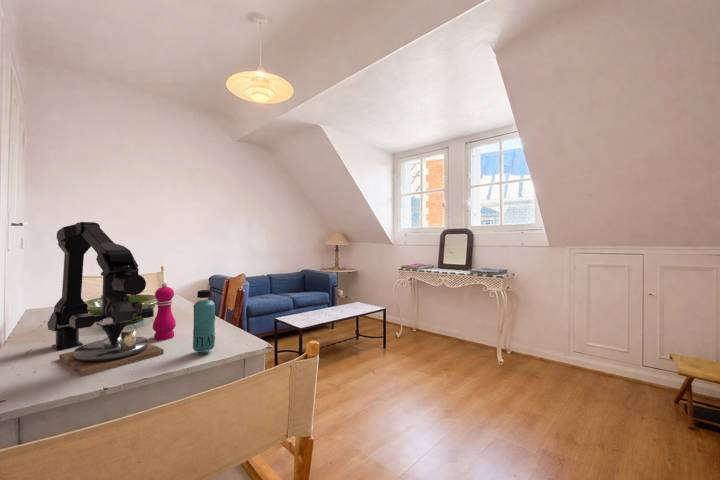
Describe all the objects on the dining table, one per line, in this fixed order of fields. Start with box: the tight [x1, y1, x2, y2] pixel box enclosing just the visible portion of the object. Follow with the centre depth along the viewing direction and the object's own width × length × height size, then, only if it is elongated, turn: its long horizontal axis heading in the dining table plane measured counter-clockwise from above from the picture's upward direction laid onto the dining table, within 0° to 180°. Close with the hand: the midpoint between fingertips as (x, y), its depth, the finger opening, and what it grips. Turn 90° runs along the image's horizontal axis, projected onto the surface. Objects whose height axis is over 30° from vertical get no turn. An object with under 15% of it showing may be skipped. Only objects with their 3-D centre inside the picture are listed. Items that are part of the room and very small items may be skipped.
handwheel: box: [73, 329, 149, 362], centre depth 98 cm, size 18×18×7 cm
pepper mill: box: [152, 282, 177, 341], centre depth 117 cm, size 7×7×20 cm
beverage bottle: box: [192, 289, 216, 353], centre depth 103 cm, size 6×7×20 cm
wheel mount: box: [58, 342, 165, 377], centre depth 98 cm, size 20×20×2 cm
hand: (113, 346), depth 93 cm, fingers closed
